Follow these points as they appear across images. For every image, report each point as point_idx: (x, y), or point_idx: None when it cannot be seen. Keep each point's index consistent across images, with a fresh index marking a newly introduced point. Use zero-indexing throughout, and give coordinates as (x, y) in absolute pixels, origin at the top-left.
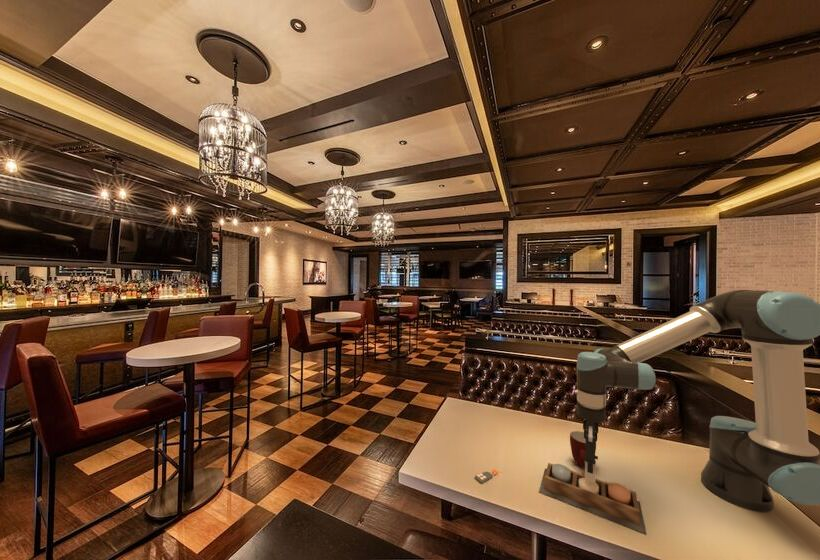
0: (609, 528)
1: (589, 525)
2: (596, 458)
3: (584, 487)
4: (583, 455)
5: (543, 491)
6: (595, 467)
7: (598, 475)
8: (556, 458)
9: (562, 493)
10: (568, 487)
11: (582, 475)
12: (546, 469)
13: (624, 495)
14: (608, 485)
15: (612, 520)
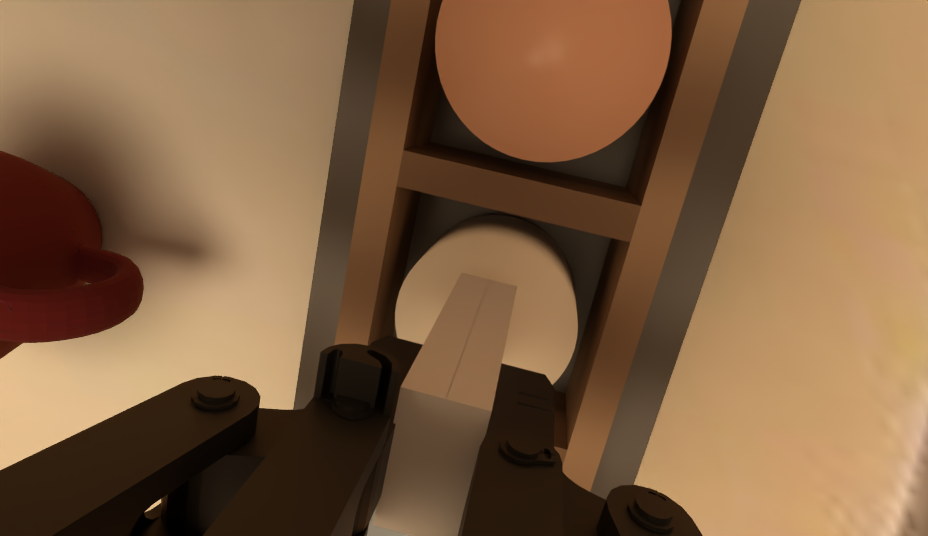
0: (829, 210)
1: (838, 355)
2: (393, 388)
3: (555, 377)
4: (65, 314)
5: None
6: (499, 369)
7: (145, 119)
8: (83, 421)
9: None
10: None
11: None
12: None
13: (664, 13)
14: (525, 158)
15: (742, 164)
